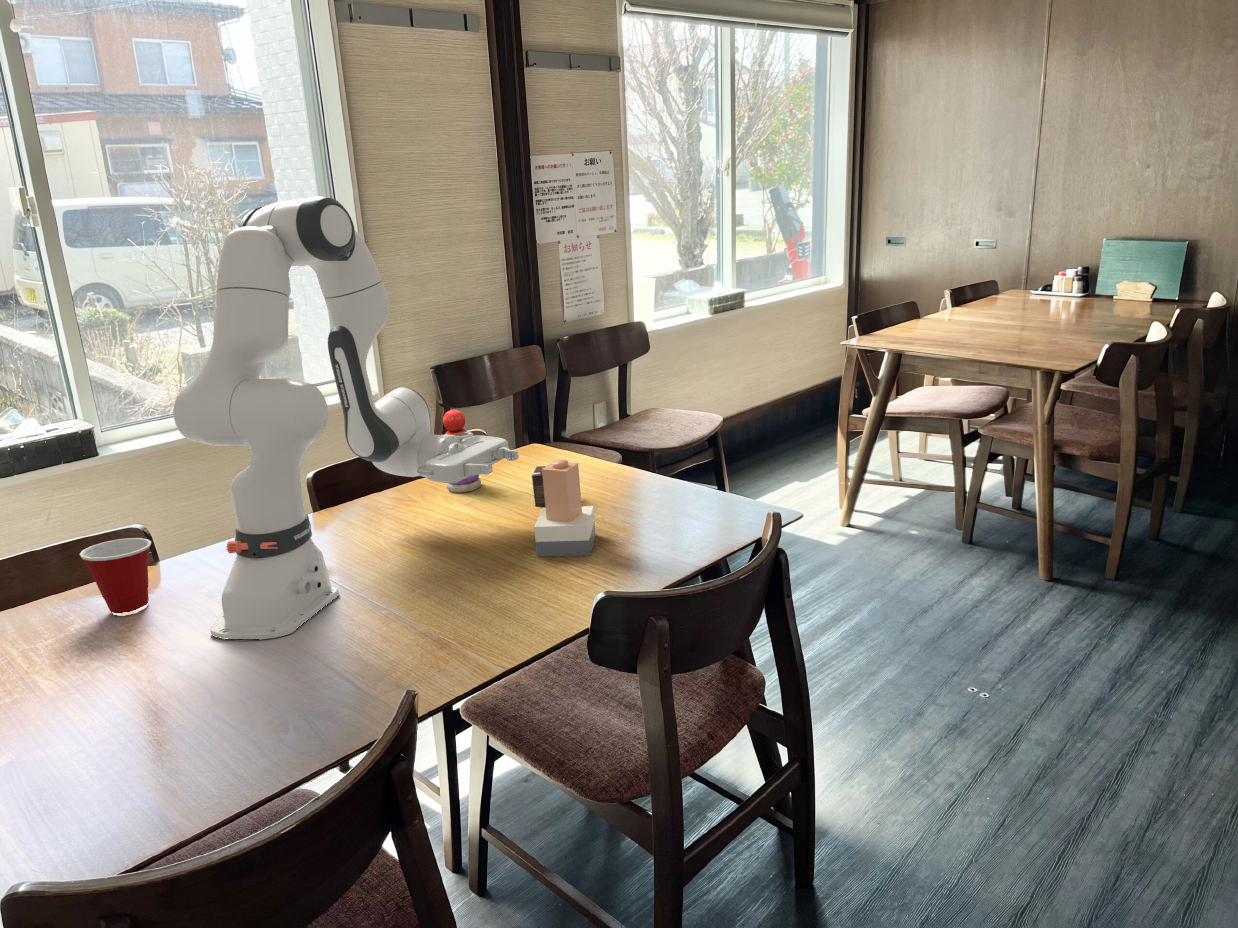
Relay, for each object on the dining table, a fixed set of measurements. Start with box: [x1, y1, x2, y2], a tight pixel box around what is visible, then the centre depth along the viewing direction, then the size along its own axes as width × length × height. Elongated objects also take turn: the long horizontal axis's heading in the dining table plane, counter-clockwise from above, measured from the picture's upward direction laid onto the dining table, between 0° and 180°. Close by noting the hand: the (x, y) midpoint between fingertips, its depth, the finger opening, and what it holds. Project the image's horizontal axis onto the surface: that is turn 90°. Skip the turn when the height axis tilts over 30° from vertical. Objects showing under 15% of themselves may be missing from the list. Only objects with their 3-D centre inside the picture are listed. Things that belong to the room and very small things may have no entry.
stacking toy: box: [442, 409, 482, 493], centre depth 205 cm, size 8×8×19 cm
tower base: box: [533, 505, 597, 558], centre depth 170 cm, size 10×10×6 cm
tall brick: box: [542, 459, 582, 522], centre depth 168 cm, size 5×5×11 cm
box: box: [531, 465, 547, 507], centre depth 195 cm, size 6×6×7 cm
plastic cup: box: [79, 537, 152, 613], centre depth 154 cm, size 11×11×12 cm
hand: (503, 462), depth 171 cm, fingers open, 8 cm apart
